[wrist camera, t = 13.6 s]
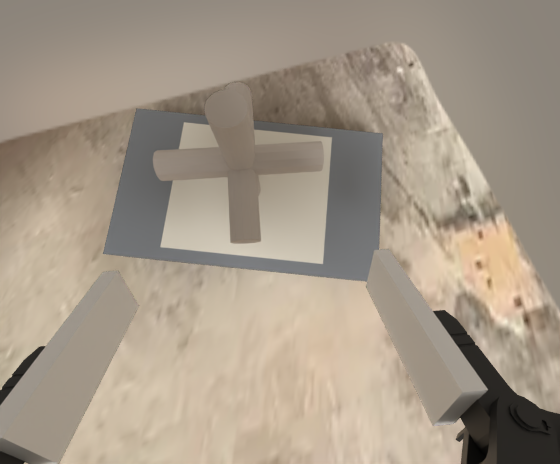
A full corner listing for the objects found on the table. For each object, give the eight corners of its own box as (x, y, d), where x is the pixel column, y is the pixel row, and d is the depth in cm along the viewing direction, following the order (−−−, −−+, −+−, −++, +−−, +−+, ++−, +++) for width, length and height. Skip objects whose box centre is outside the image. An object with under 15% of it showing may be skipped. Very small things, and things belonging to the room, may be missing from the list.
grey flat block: (132, 257, 23) (101, 253, 19) (158, 134, 25) (135, 106, 21) (360, 281, 23) (378, 282, 19) (366, 155, 25) (383, 132, 21)
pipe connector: (188, 138, 21) (110, 14, 11) (303, 132, 21) (329, 6, 11) (189, 254, 19) (98, 233, 9) (315, 245, 19) (357, 215, 9)
